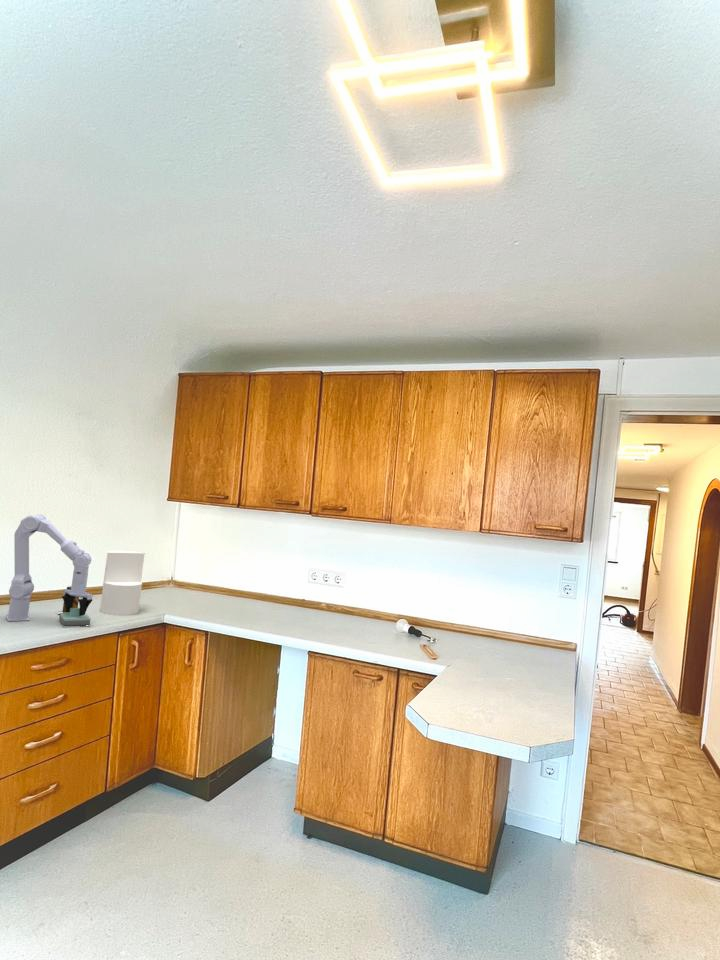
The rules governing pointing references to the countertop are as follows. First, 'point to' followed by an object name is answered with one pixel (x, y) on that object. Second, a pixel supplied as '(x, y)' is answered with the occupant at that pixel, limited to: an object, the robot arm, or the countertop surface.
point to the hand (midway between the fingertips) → (75, 613)
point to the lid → (74, 615)
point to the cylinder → (122, 582)
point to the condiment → (75, 603)
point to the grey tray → (74, 622)
